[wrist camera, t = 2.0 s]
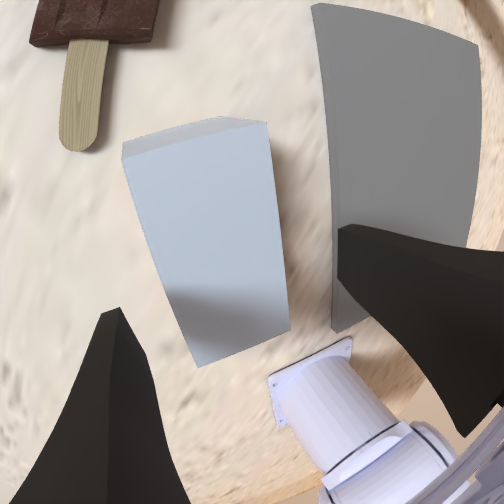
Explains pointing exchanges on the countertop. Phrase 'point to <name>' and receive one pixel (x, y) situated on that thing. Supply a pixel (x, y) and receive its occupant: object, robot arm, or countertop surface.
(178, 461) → the countertop surface
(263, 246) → the case
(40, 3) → the ice cream bar
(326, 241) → the countertop surface
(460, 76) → the mat
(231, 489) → the countertop surface
